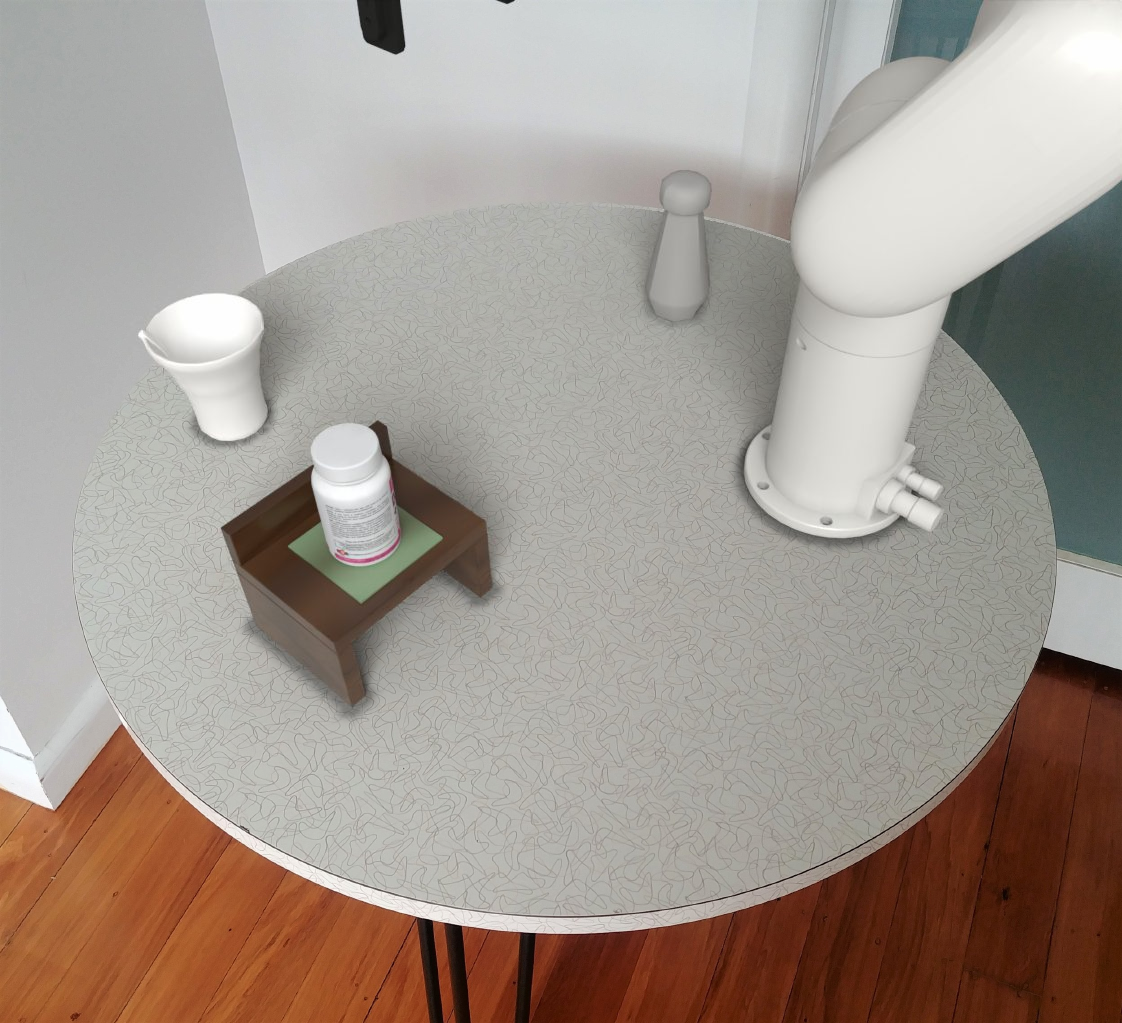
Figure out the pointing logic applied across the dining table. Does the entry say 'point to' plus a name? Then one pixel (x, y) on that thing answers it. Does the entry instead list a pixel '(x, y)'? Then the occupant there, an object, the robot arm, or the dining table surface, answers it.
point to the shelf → (347, 568)
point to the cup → (213, 360)
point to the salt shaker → (680, 248)
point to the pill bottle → (354, 495)
